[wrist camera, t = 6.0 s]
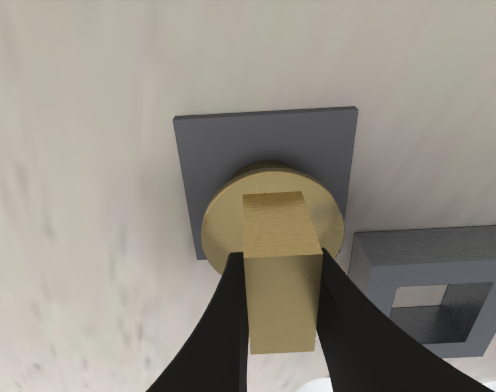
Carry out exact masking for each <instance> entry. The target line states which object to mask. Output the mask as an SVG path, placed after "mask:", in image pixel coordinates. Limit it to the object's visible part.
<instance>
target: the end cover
mask: <svg viewBox="0 0 496 392" xmlns="http://www.w3.org/2000/svg"><path fill="white" fill-rule="evenodd" d="M343 237H344V222H343V218H342V215H341V212H340V210H339V208H338V206H337V204H336V202H335V200H334V198H333V196H332V195H331V193H330V192H329V190H328V189H327V188H326V187H325V186H324V185H323V184H322V183H320V182H319V181H318V180H316V179H315V178H313V177H311V176H309V175H308V174H305V173H303V172H300V171H298V170H297V169H295V168H294V167H292V166H291V165H289V164H286V163H284V162H280V161H274V160H263V161H257V162H253V163H251V164H248V165H246V166H244V167H243V168H241V169H240V170H238V171H237V172H236V173H235V174H234V175H233V176H232V177H231V179H230V180H229V182H227V183H226V184H225V185H223V186H222V187H221V188H220V189H219V190H218V191H217V192H216V193H215V195H214V196H213V197H212V199H211V200H210V202H209V204H208V206H207V208H206V211H205V214H204V218H203V224H202V231H201V242H202V247H203V251H204V253H205V256H206V258H207V259H208V261H209V263H210V264H211V265H212V266H213V268H214V269H215V270H216V271H217V272H218V273H219V274H221V275H222V274H223V272H224V269H225V266H226V263H227V259H228V255H229V254H230V253H231V252H244V270H245V283H246V297H247V310H248V323H249V337H250V350H251V354H270V353H289V352H308V351H314V347H315V336H316V325H317V314H318V303H319V292H320V282H321V271H322V260H323V252H322V249H321V248H323V247H324V248H325V249H326V250H327V251H328V252H329V254H330V255H331V256H332V257H333V259H335V257H336V256H337V254H338V252H339V250H340V248H341V245H342V242H343Z"/></svg>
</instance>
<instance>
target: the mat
mask: <svg viewBox="0 0 496 392" xmlns="http://www.w3.org/2000/svg"><path fill="white" fill-rule="evenodd" d="M357 116H358V109H357V108H356V107H355V106H352V107H334V108H316V109H298V110H280V111H263V112H245V113H227V114H209V115H191V116H175V117H174V119H173V124H174V130H175V136H176V141H177V147H178V153H179V159H180V164H181V170H182V176H183V182H184V187H185V193H186V199H187V204H188V210H189V216H190V222H191V227H192V233H193V239H194V245H195V250H196V256H197V260H207V258H206V256H205V253H204V251H203V247H202V242H201V231H202V224H203V218H204V214H205V211H206V208H207V206H208V204H209V202H210V200H211V199H212V197H213V196H214V195H215V193H216V192H217V191H218V190H219V189H220V188H221V187H222V186H223V185H225V184H226V183H227V182H229V180H230V179H231V177H232V176H233V175H234V174H235V173H236V172H237V171H238V170H240V169H241V168H243V167H244V166H246V165H248V164H251V163H253V162H257V161H263V160H274V161H280V162H284V163H286V164H289V165H291V166H292V167H294V168H295V169H297V170H298V171H300V172H303V173H305V174H308V175H309V176H311V177H313V178H315V179H316V180H318V181H319V182H320V183H322V184H323V185H324V186H325V187H326V188H327V189H328V190H329V192H330V193H331V195H332V196H333V198H334V200H335V202H336V204H337V206H338V208H339V210H340V212H341V215H342V218H343V222H344V217H345V209H346V201H347V194H348V186H349V178H350V171H351V163H352V155H353V147H354V140H355V132H356V124H357ZM339 252H340V250H339Z"/></svg>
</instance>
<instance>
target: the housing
mask: <svg viewBox="0 0 496 392" xmlns="http://www.w3.org/2000/svg"><path fill="white" fill-rule="evenodd" d="M348 277H349V278H350V279H351V280H352V282H353V283H354V284H355V285H356V286H357V287H358V288H359V289H360V290H361V292H362V293H363V294H364V295H365V296H366V297H367V298H368V299H369V300H370V301H371V302H372V303H373V304H374V305H375V306H376V307H377V308H378V309H379V310H380V311H382V312H383V313H384V314H385V315H386V316H387V317H388V318H389V319H390V320H392V321H393V322H394V323H395V324H396V325H397V326H399V327H400V328H401V329H402V330H403V331H405V332H406V333H407V334H408V335H410V336H411V337H412V338H414V339H415V340H416V341H418V342H419V343H420V344H422V345H423V346H424V347H426V348H427V349H428V350H430V351H431V352H432V353H434V354H435V355H437V356H438V357H440V358H459V357H478V356H483V354H484V353H485V351H486V349H487V347H488V345H489V344H490V342H491V340H492V338H493V336H494V334H495V333H496V225H493V226H475V227H456V228H438V229H419V230H401V231H382V232H364V233H355V235H354V241H353V248H352V254H351V261H350V267H349V274H348ZM442 284H449V285H448V288H447V290H446V293H445V296H444V298H443V301H442V303H441V306H427V307H408V308H392V304H393V300H394V296H395V293H396V289H397V287H404V286H423V285H442Z"/></svg>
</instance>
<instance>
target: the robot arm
mask: <svg viewBox="0 0 496 392" xmlns="http://www.w3.org/2000/svg"><path fill="white" fill-rule="evenodd" d="M321 249H322V252H323V260H322V271H321V282H320V292H319V303H318V314H317V325H316V330H317V333H318V336H319V340H320V343H321V346H322V350H323V353H324V356H325V360H326V363H327V366H328V370H329V374H330V378H331V383H332V388H333V392H494V391H493V390H491V389H489V388H487V387H486V386H484V385H483V384H481V383H479V382H478V381H476V380H474V379H473V378H471V377H469V376H468V375H466V374H464V373H462V372H461V371H459V370H458V369H456V368H455V367H453V366H452V365H450V364H449V363H447V362H446V361H444V360H443V359H441V358H440V357H438V356H437V355H435V354H434V353H432V352H431V351H430V350H428V349H427V348H426V347H424V346H423V345H422V344H420V343H419V342H418V341H416V340H415V339H414V338H412V337H411V336H410V335H408V334H407V333H406V332H405V331H403V330H402V329H401V328H400V327H399V326H397V325H396V324H395V323H394V322H393V321H392V320H390V319H389V318H388V317H387V316H386V315H385V314H384V313H383V312H382V311H380V310H379V309H378V308H377V307H376V306H375V305H374V304H373V303H372V302H371V301H370V300H369V299H368V298H367V297H366V296H365V295H364V294H363V293H362V292H361V290H360V289H359V288H358V287H357V286H356V285H355V284H354V283H353V282H352V280H351V279H350V278H349V277H348V276H347V275H346V274H345V272H344V271H343V270H342V269H341V268H340V266H339V265H338V264H337V263H336V261H335V260H334V259H333V257H332V256H331V255H330V254H329V252H328V251H327V250H326V249H325V248H324V247H323V248H321ZM248 339H249V323H248V310H247V297H246V283H245V270H244V252H231V253H230V254H229V255H228V259H227V263H226V266H225V269H224V272H223V274H222V277H221V279H220V282H219V284H218V286H217V289H216V291H215V293H214V295H213V297H212V299H211V301H210V303H209V305H208V307H207V309H206V310H205V312H204V314H203V316H202V318H201V319H200V321H199V323H198V324H197V326H196V327H195V329H194V331H193V332H192V334H191V335H190V337H189V338H188V340H187V341H186V342H185V344H184V345H183V347H182V348H181V350H180V351H179V352H178V354H177V355H176V356H175V358H174V359H173V360H172V361H171V363H170V364H169V365H168V366H167V367H166V369H165V370H164V371H163V372H162V374H161V375H160V376H159V377H158V378H157V380H156V381H155V382H154V383H153V384H152V385H151V386H150V388H149V389H148V390H147V391H146V392H247V357H248Z"/></svg>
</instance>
